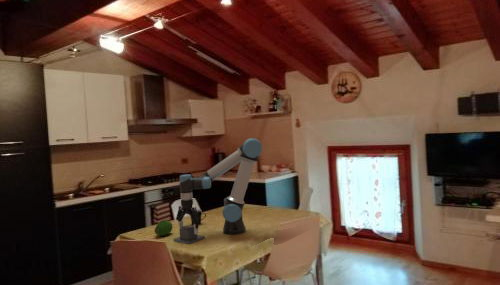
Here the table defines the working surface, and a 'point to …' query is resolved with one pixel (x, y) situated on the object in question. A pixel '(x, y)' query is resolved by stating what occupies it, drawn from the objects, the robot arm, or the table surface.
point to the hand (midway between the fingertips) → (188, 232)
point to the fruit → (163, 228)
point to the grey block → (187, 232)
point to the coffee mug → (199, 217)
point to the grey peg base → (199, 237)
